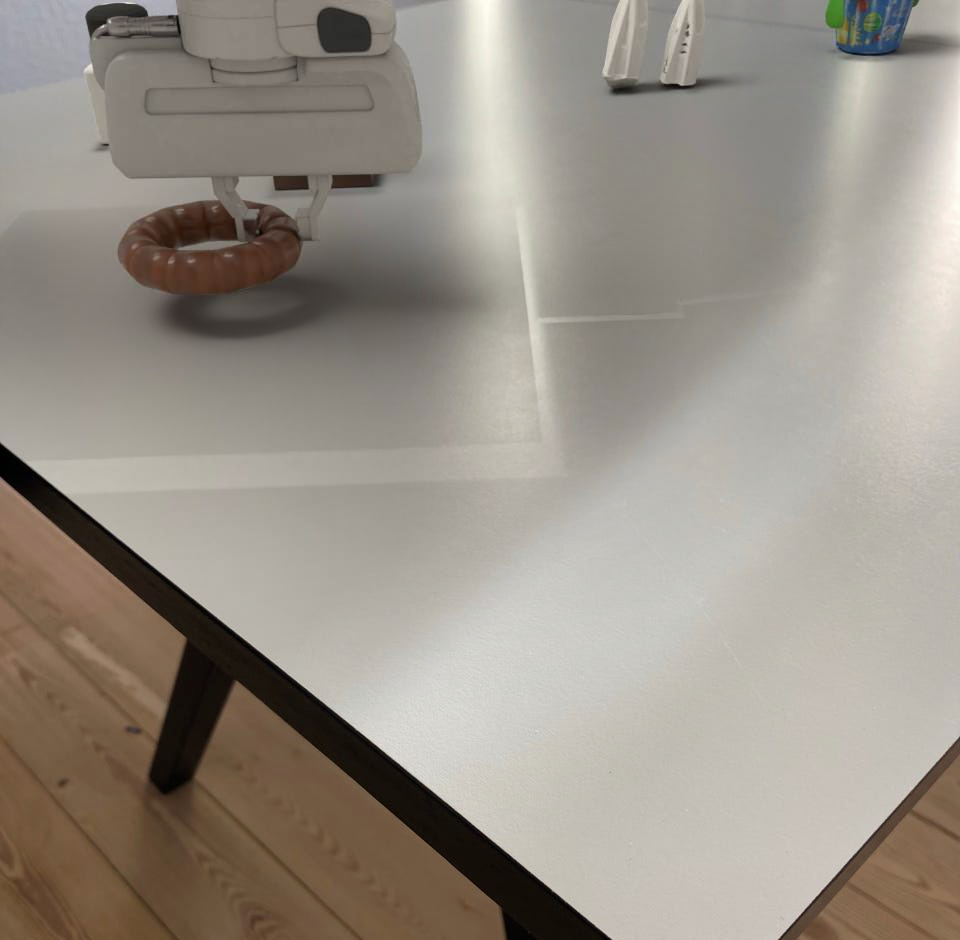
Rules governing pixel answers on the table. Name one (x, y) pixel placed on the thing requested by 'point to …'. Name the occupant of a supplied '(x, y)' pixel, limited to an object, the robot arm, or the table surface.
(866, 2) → the snack cup
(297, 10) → the robot arm
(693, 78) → the shaker set
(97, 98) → the medicine bottle
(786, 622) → the table surface
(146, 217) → the ring
